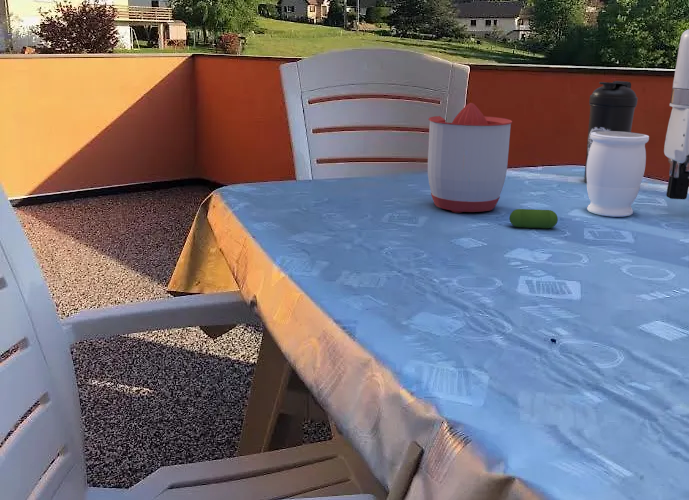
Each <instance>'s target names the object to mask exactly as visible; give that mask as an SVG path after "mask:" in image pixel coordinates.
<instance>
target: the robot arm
mask: <svg viewBox="0 0 689 500" xmlns="http://www.w3.org/2000/svg"><path fill="white" fill-rule="evenodd" d="M669 107H672V109H671V112H670V116H669V120H668V124H667V130H666V133H665V140H664V146H663V147H664V148H663V153H664V156H665V157H667V159H668V160H667V162H668V164H669V173H668V174H669V175H668V176H669V177H668V182H667V189H666V195H665V196H666V197H667V198H668V199H670V200H686V199H687V198H688V192H689V28H688V29H686V30H684V31H683V32H682V34H681V36H680V41H679V45H678V52H677V57H676V64H675V70H674V77H673V81H672V88H671V94H670V100H669Z"/></svg>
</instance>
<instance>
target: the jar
mask: <svg viewBox="0 0 689 500" xmlns="http://www.w3.org/2000/svg"><path fill="white" fill-rule="evenodd" d="M590 138H591V139H592V140H593V142H592V145H591V147H590V150H589V154H588V159H587V166H586V177H587V183H586V190H587V191H586V192H587V195H588V200H589V201H590V203H589V204H588V206H587V207H586V210H587V211H588V212H590V213H592V214H595V215H598V216H603V217H614V218H617V217H618V218H624V217H629V216H632V215H633V213H634V209H633V208H632V205H633V204H634V202H635V200H636V199H637V197H638V195H639V192H640V188H641V184H642V182H643V179H644V176H645V170H646V163H647V151H646V150H647V149H646V144H647V143H648V142H649V140H650V136H649V135H648V134H645V133H639V132H633V131H631V132H621V131H598V132H592V133H591V135H590Z"/></svg>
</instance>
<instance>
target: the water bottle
mask: <svg viewBox="0 0 689 500" xmlns="http://www.w3.org/2000/svg"><path fill="white" fill-rule="evenodd" d="M598 84H599V85H602V86H600V87H597V88H596V89H594V90H593V91H592V93H591V94H590V95H589V101H588V105H589V117H588V118H589V119H588V130H587V139H586V140H587V141H586V153H585V165H584V175H583V182H584V183H585V184H587V177H586V166H587V159H588V154H589V150H590V147H591V145H592V142H593V140H592V139H591V138H590V135H591V133H592V132H598V131H621V132H632V127H633V122H634V121H633V120H634V114H635V109H636V108H637V105H638V100H639V97H638V96H637V94H636V92H635V91H634V90H633V89H632V83H631V81H623V80H614V81H612V82H610V81H609V82H607V81H599V82H598Z"/></svg>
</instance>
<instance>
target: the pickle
mask: <svg viewBox="0 0 689 500" xmlns="http://www.w3.org/2000/svg"><path fill="white" fill-rule="evenodd" d="M558 220H559V217H558V215H557V213H556V212H555V211H553V210H551V209H534V208H533V209H531V208H517V209H514V210H512V211H511V213H510V215H509V222H510V224H511V225H512V226H513V227H515V228H523V229H524V228H525V229H527V228H528V229H552V228H554V227H555V226H556V225H557V223H558Z"/></svg>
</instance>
